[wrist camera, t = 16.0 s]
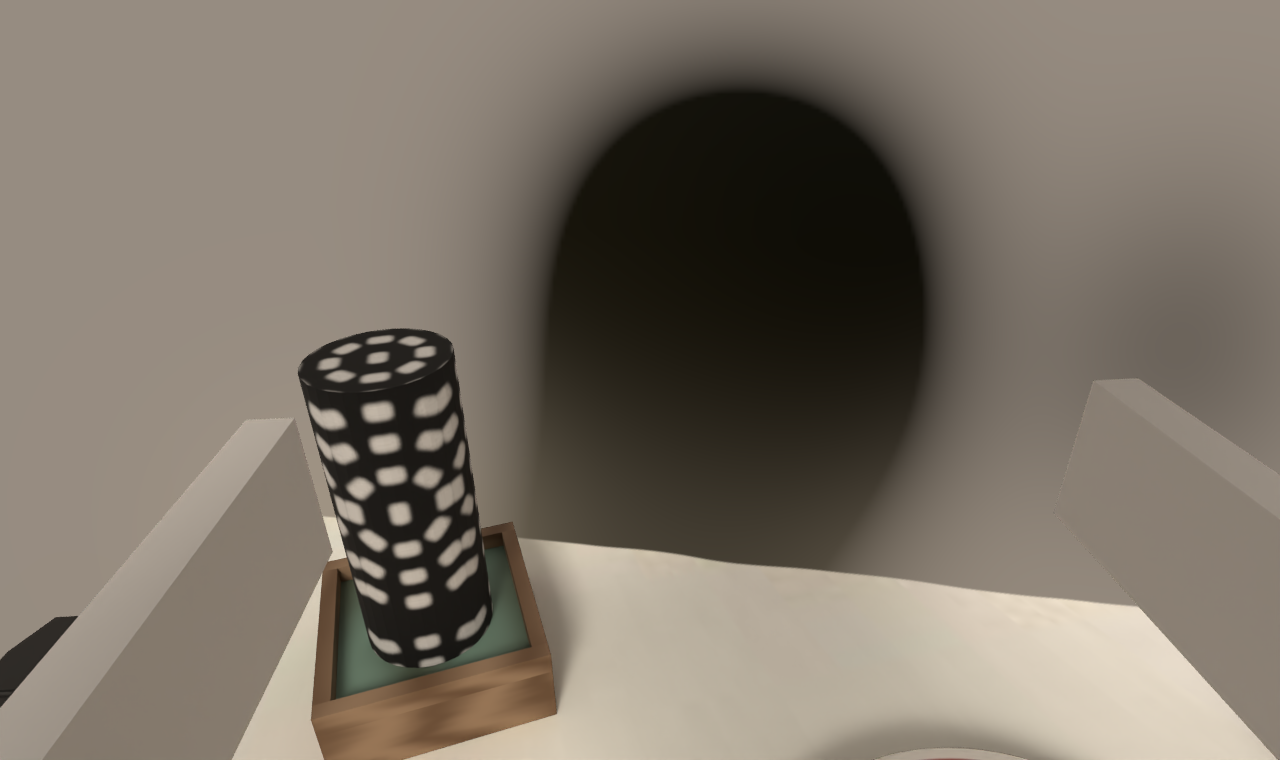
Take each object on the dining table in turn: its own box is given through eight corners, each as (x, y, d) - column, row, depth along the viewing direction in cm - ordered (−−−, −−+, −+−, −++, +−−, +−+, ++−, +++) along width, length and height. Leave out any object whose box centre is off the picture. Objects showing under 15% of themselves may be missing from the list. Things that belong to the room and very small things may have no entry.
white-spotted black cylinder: (372, 589, 52) (308, 338, 43) (488, 567, 54) (451, 321, 45) (364, 681, 45) (286, 402, 36) (498, 652, 47) (456, 380, 38)
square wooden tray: (518, 574, 59) (512, 521, 57) (556, 713, 48) (550, 654, 45) (338, 617, 55) (323, 562, 53) (331, 780, 44) (310, 720, 41)
